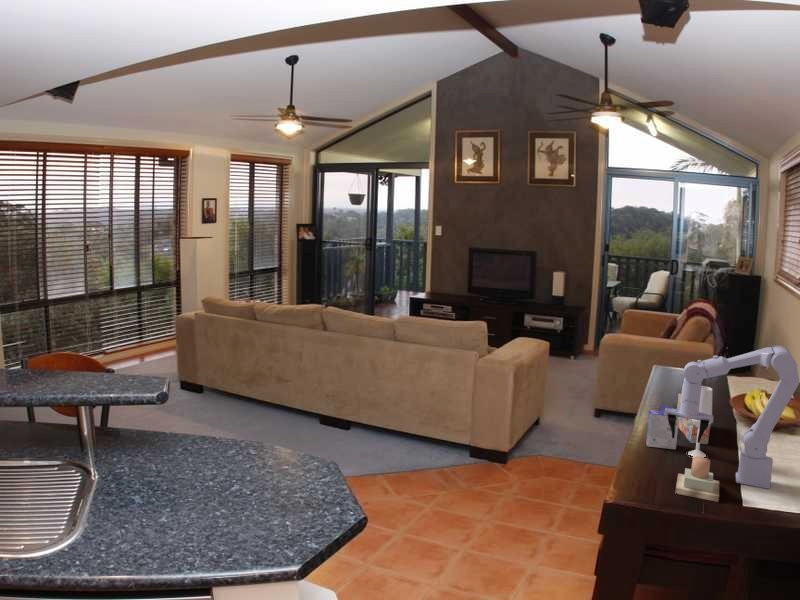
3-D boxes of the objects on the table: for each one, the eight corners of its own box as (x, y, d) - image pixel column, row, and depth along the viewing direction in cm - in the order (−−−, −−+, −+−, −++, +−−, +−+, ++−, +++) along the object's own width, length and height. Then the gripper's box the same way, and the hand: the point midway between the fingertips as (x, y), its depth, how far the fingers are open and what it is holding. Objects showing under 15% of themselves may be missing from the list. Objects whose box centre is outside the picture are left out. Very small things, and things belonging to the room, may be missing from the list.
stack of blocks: (708, 444, 261) (712, 412, 259) (690, 443, 262) (694, 410, 259) (691, 424, 282) (695, 393, 280) (675, 422, 282) (678, 392, 280)
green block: (711, 482, 225) (712, 472, 224) (712, 492, 218) (713, 482, 217) (684, 477, 228) (685, 468, 227) (683, 487, 221) (684, 477, 220)
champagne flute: (696, 450, 255) (704, 384, 251) (711, 457, 249) (720, 390, 245) (682, 452, 252) (689, 386, 248) (696, 459, 246) (705, 392, 242)
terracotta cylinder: (705, 472, 225) (707, 457, 224) (710, 479, 220) (712, 463, 219) (688, 471, 225) (690, 456, 224) (693, 478, 220) (695, 462, 219)
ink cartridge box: (674, 444, 260) (678, 405, 257) (676, 450, 254) (681, 410, 252) (645, 441, 262) (649, 402, 259) (647, 447, 256) (651, 407, 254)
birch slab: (718, 488, 226) (719, 481, 226) (718, 504, 216) (719, 496, 215) (677, 480, 231) (678, 473, 231) (675, 495, 220) (675, 487, 220)
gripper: (715, 399, 234) (710, 439, 237) (667, 392, 240) (663, 431, 242) (714, 405, 228) (709, 446, 230) (666, 398, 233) (661, 438, 236)
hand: (685, 439), depth 236 cm, fingers open, 7 cm apart
